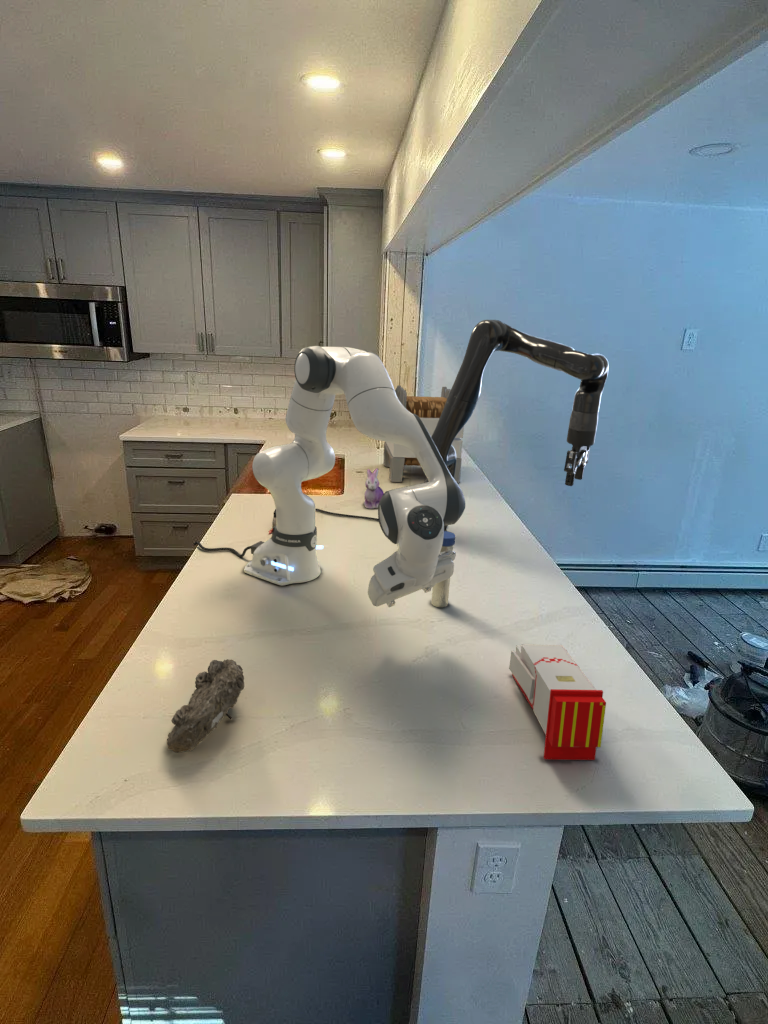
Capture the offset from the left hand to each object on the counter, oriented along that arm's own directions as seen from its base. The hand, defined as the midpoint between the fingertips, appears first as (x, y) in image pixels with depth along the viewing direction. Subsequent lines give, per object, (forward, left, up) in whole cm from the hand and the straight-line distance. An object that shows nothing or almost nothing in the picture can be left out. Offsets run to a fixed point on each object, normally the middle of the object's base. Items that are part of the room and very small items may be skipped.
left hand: (408, 596), depth 132 cm
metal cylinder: (+3, +21, -12) cm, 25 cm away
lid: (+3, +21, +8) cm, 23 cm away
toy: (+34, -12, -12) cm, 38 cm away
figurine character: (-63, +52, -12) cm, 82 cm away
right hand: (+31, +56, +17) cm, 67 cm away
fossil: (-25, -40, -12) cm, 49 cm away
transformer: (-41, +143, -12) cm, 149 cm away
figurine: (-43, +88, -12) cm, 99 cm away
